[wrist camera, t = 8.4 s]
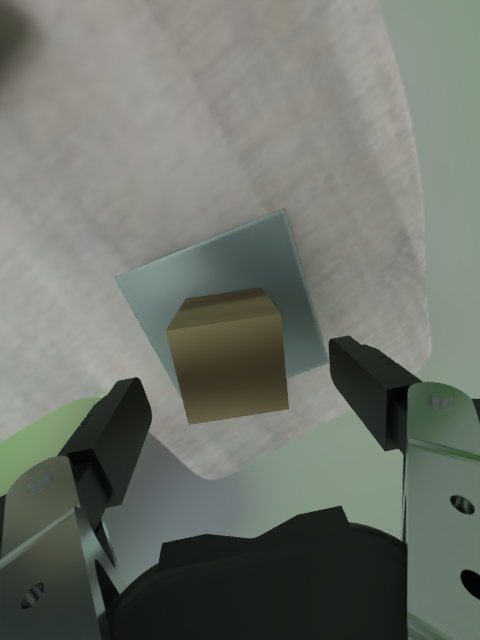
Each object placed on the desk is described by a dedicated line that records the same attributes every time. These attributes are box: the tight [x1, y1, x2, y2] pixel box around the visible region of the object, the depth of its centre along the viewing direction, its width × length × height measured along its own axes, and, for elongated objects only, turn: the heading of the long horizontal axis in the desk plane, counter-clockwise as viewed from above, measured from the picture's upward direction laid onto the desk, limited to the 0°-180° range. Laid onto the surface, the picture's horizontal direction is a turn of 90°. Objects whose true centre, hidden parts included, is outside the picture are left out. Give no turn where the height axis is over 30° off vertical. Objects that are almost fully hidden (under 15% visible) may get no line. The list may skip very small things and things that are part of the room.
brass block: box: [166, 288, 289, 425], centre depth 14 cm, size 5×5×6 cm
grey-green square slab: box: [114, 208, 329, 400], centre depth 19 cm, size 11×11×5 cm
